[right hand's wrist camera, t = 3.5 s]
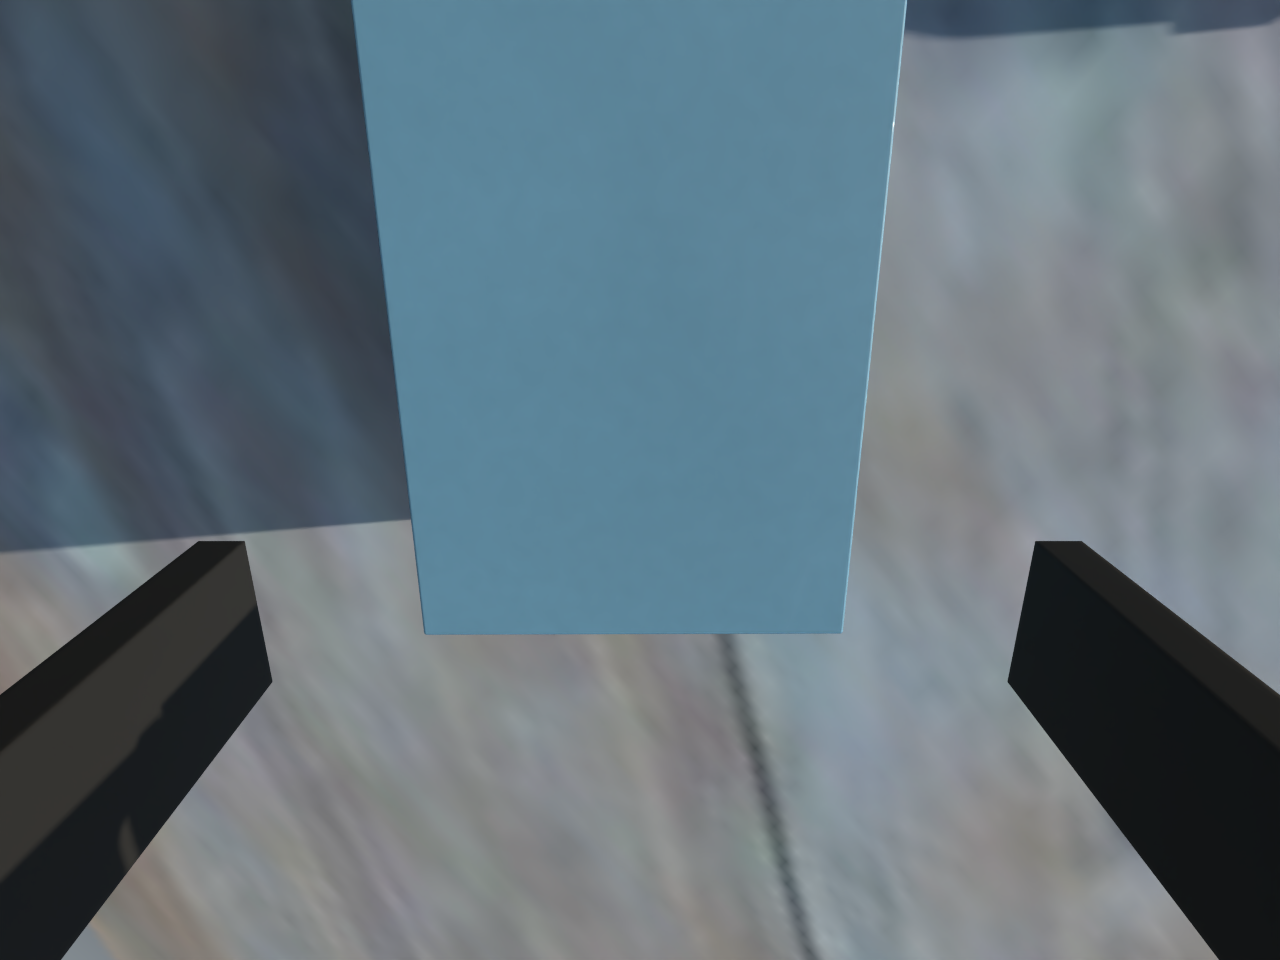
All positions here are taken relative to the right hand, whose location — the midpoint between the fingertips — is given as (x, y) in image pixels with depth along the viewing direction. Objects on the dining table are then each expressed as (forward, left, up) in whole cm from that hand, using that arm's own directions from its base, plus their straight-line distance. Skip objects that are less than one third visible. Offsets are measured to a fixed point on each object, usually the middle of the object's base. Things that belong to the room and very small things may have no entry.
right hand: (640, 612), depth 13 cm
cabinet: (+4, +5, -15) cm, 16 cm away
